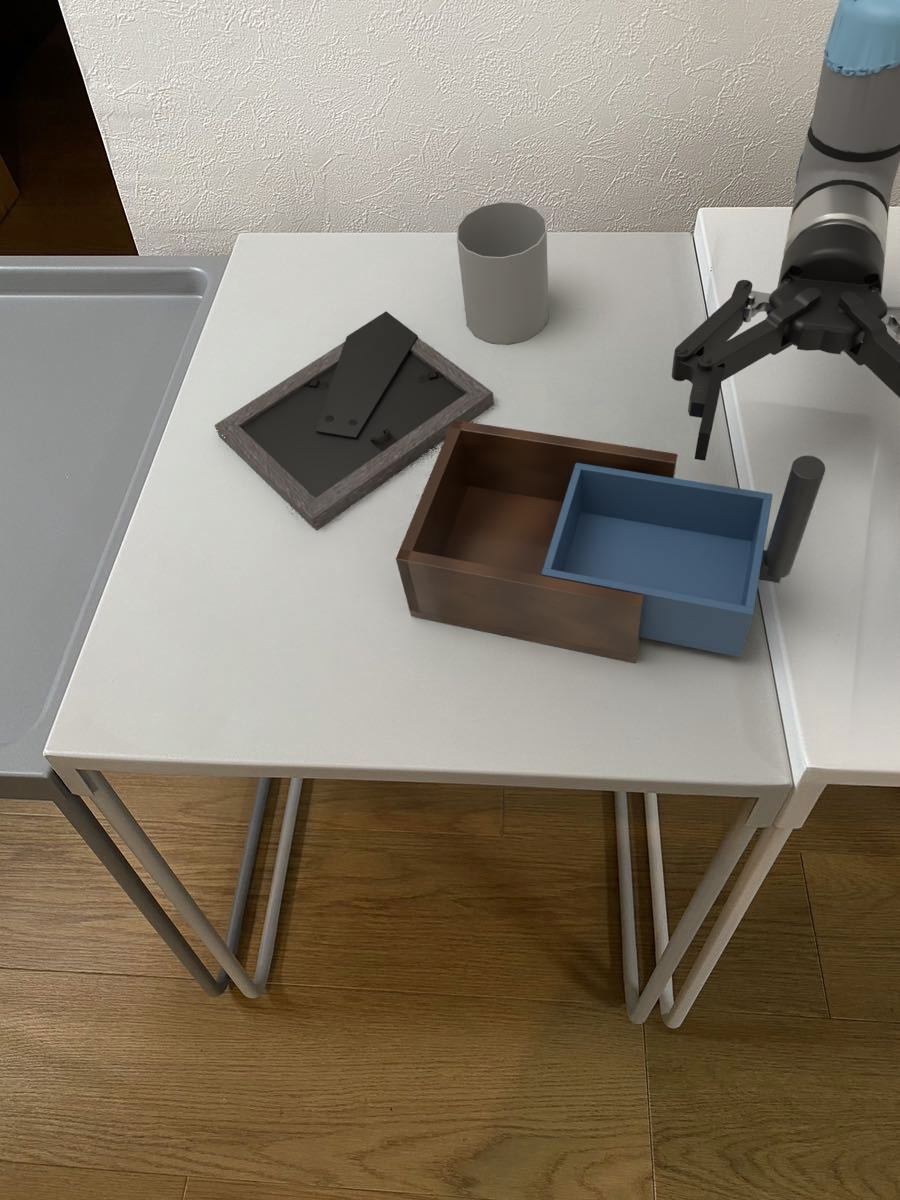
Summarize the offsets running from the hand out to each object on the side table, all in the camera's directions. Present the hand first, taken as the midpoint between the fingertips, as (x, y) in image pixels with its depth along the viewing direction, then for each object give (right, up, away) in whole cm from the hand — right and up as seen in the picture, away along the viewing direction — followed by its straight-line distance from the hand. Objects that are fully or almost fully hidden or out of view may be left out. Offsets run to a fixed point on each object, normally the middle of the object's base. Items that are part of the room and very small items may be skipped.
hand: (804, 462), depth 63 cm
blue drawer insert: (-7, -8, +11) cm, 15 cm away
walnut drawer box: (-16, -7, +14) cm, 23 cm away
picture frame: (-33, +8, +26) cm, 42 cm away
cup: (-18, +19, +32) cm, 41 cm away
